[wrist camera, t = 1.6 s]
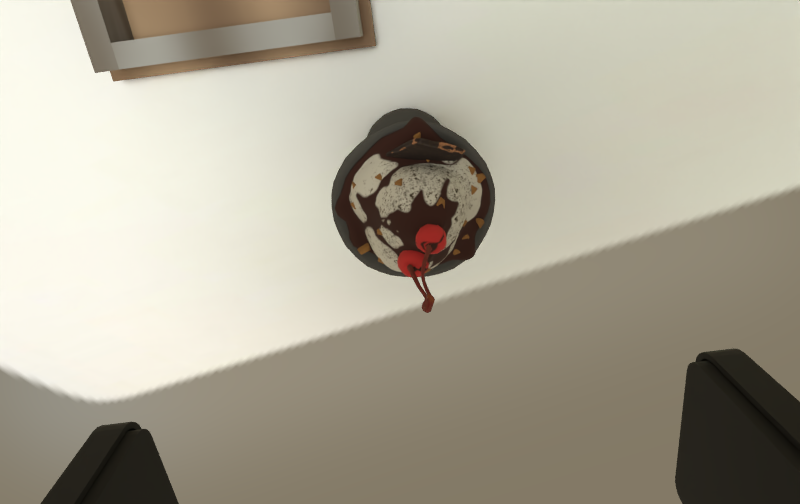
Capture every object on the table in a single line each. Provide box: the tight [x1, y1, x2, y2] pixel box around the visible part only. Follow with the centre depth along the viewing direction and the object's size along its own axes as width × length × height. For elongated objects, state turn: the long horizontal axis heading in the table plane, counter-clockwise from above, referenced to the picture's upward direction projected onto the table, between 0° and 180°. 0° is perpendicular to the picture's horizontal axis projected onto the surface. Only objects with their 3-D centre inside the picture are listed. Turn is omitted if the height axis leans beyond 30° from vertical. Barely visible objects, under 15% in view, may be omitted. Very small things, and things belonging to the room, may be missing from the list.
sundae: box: [332, 109, 495, 313], centre depth 24 cm, size 7×7×15 cm
